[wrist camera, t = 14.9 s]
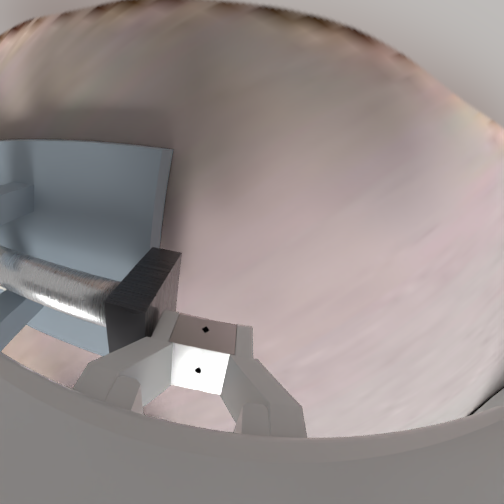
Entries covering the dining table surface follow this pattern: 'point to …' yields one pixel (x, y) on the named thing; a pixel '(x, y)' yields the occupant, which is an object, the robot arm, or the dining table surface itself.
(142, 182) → the block
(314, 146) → the dining table surface
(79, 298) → the shaft
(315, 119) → the dining table surface
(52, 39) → the dining table surface
